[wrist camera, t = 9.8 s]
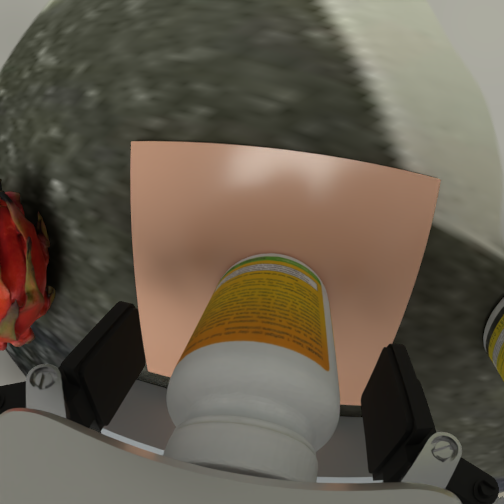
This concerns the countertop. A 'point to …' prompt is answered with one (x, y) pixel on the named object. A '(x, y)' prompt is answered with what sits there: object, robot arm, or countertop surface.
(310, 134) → the countertop surface
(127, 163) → the countertop surface
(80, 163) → the countertop surface
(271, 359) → the supplement bottle
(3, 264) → the dragon fruit
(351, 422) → the low wall
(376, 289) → the tile
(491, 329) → the supplement bottle
